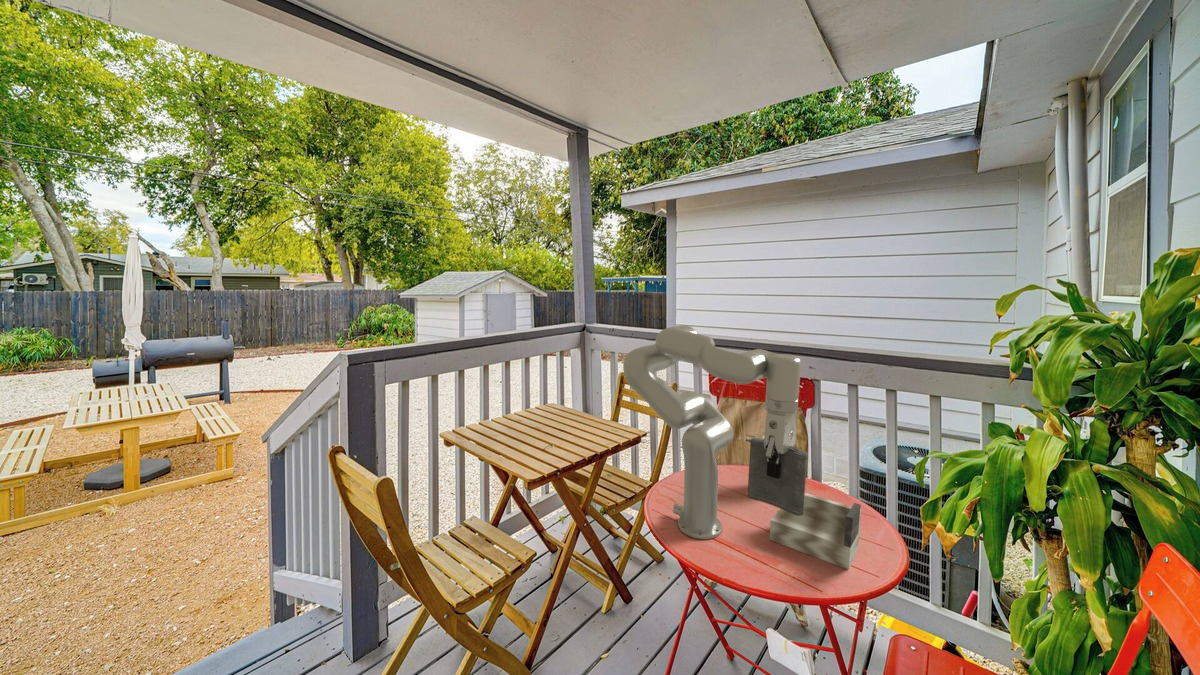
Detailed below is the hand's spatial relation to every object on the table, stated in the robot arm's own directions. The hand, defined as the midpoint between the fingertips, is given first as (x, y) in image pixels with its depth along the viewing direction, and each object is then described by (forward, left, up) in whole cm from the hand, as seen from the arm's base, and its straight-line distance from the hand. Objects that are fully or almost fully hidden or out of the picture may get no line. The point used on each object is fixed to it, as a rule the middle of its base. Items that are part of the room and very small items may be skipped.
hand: (776, 473), depth 117 cm
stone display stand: (+6, +13, -24) cm, 28 cm away
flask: (0, 0, -9) cm, 9 cm away
